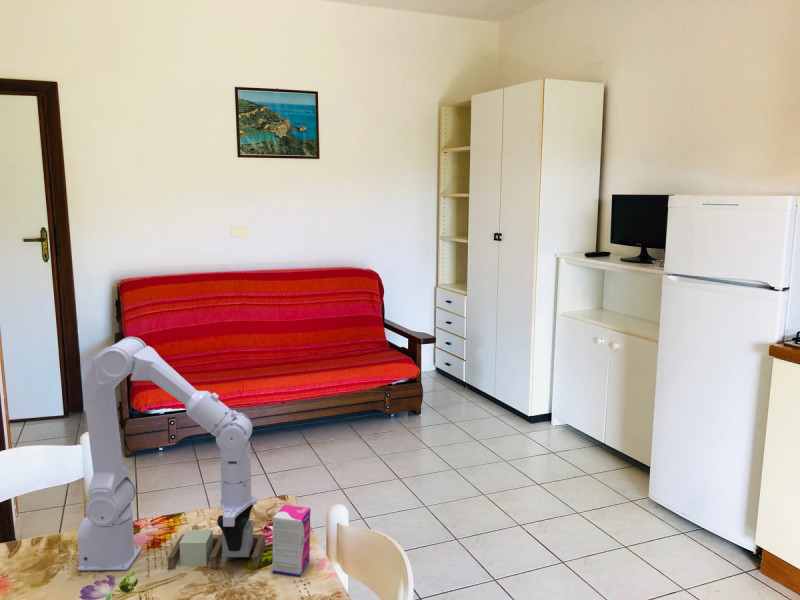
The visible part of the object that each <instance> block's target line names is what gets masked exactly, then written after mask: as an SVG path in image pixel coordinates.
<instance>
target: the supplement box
mask: <svg viewBox="0 0 800 600" xmlns="http://www.w3.org/2000/svg"><path fill="white" fill-rule="evenodd" d="M310 543H311V508H310V507H305V506H297V505H290V504H283V505H282V506H281V507H280V509H278V511H277V512H276V514H274V516H273V517H272V567H271V568H272V569H271V570H272V572H271V573H272V574H275V575H284V576H290V577H295V578H297V577H301V575H302V573H303V571H304V570H305V569H306V567H307V565H308V564H309V562H310V554H311V553H310V551H311V550H310V549H311V544H310Z"/></svg>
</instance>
